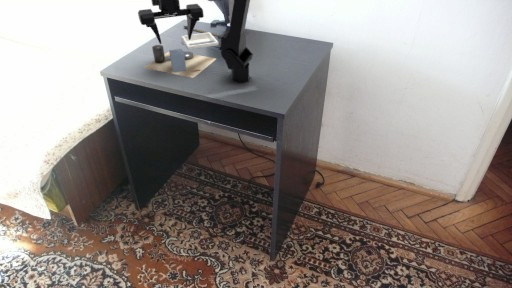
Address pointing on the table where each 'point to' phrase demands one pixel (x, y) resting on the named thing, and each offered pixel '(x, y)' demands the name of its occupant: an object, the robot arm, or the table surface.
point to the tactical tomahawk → (205, 32)
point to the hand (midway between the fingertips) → (175, 41)
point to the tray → (199, 40)
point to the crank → (160, 56)
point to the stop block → (177, 60)
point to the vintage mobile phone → (231, 8)
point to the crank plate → (192, 65)
